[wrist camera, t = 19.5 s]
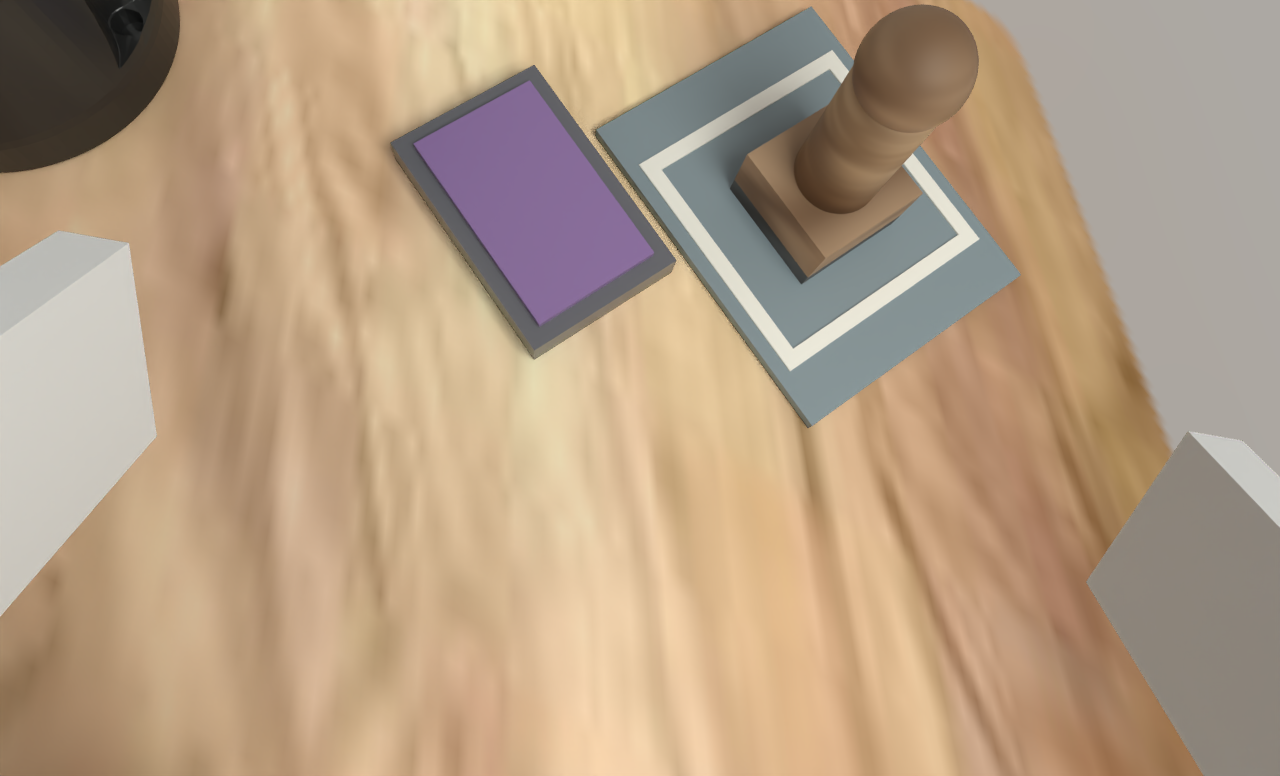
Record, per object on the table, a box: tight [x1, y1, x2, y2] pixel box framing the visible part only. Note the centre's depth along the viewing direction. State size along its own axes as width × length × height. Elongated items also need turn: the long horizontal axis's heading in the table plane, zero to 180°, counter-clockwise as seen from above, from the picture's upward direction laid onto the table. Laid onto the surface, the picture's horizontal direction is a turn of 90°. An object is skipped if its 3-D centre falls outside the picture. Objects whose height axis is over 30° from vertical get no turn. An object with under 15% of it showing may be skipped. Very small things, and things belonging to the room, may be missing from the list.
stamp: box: [730, 5, 979, 285], centre depth 35 cm, size 6×6×14 cm
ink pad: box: [391, 65, 676, 359], centre depth 39 cm, size 12×8×2 cm, turn 35°
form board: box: [595, 7, 1021, 428], centre depth 42 cm, size 18×14×1 cm
